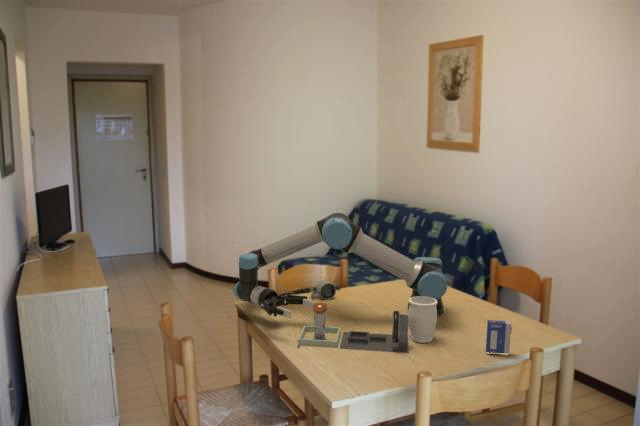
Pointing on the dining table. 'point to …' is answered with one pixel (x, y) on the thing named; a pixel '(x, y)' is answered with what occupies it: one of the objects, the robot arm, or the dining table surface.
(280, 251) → the robot arm
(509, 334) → the walkman
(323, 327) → the copper-capped metal cylinder
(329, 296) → the ceramic mug
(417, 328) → the jar
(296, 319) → the dining table surface
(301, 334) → the tray
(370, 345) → the pulley plate
